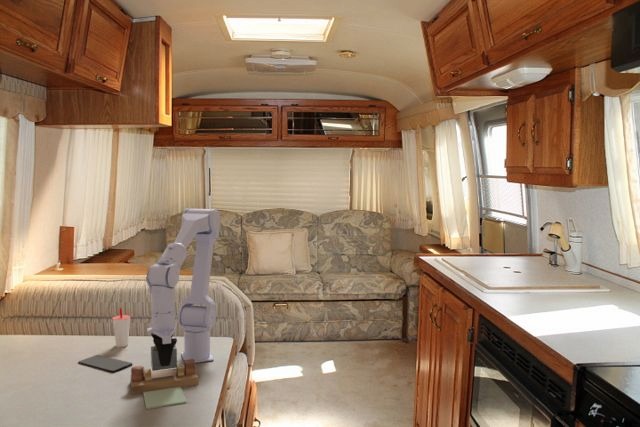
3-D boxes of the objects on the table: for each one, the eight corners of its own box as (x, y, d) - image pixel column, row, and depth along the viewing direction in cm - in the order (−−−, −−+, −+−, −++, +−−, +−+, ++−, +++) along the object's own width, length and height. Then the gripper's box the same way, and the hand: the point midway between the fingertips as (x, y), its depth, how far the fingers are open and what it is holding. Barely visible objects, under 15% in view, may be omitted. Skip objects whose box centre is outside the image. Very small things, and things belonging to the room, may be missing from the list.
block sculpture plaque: (130, 382, 133) (130, 363, 133) (193, 373, 139) (193, 355, 139) (132, 394, 126) (132, 374, 125) (198, 384, 132) (198, 365, 132)
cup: (113, 349, 158) (112, 310, 157) (112, 343, 162) (111, 306, 161) (131, 346, 160) (130, 309, 159) (130, 341, 165) (129, 304, 164)
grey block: (151, 365, 133) (150, 343, 132) (174, 362, 135) (174, 340, 135) (152, 370, 129) (152, 348, 129) (177, 367, 132) (176, 345, 131)
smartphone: (97, 354, 152) (133, 363, 145) (97, 357, 152) (133, 366, 145) (77, 361, 146) (113, 371, 139) (77, 364, 146) (113, 374, 139)
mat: (143, 393, 126) (143, 392, 126) (180, 388, 130) (180, 386, 130) (146, 409, 118) (146, 407, 118) (186, 402, 122) (186, 401, 121)
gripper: (144, 305, 136) (145, 355, 137) (149, 320, 123) (150, 375, 124) (172, 302, 139) (172, 351, 140) (179, 317, 126) (180, 370, 127)
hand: (164, 362), depth 132 cm, fingers closed on grey block, 4 cm apart
